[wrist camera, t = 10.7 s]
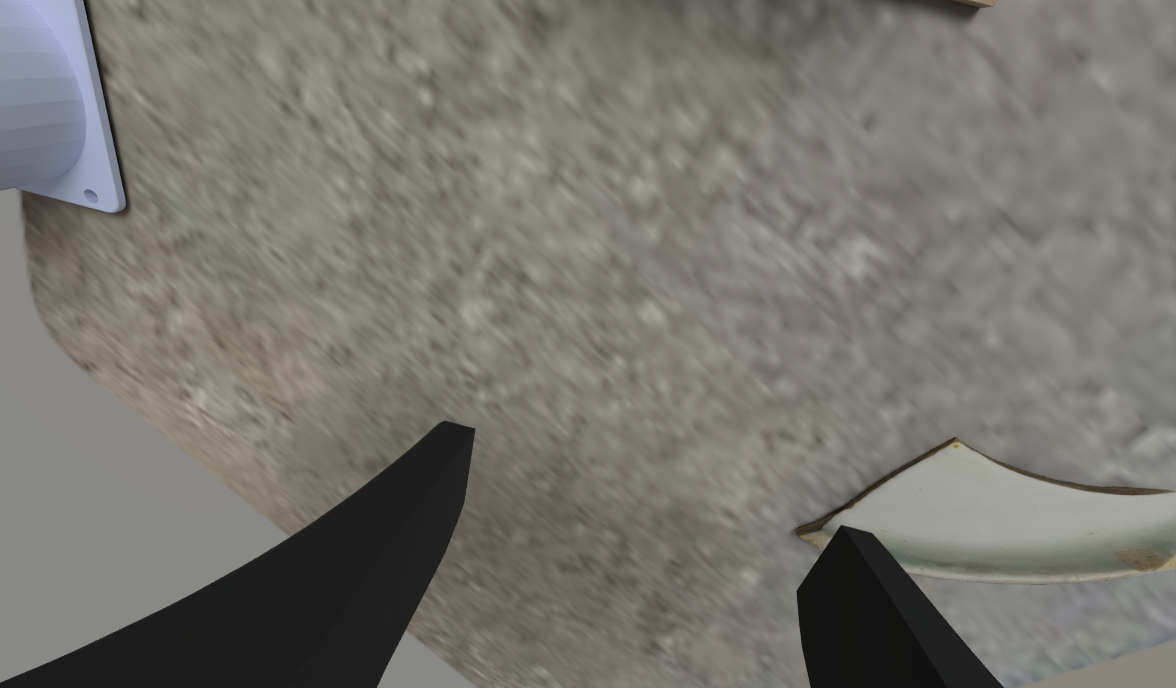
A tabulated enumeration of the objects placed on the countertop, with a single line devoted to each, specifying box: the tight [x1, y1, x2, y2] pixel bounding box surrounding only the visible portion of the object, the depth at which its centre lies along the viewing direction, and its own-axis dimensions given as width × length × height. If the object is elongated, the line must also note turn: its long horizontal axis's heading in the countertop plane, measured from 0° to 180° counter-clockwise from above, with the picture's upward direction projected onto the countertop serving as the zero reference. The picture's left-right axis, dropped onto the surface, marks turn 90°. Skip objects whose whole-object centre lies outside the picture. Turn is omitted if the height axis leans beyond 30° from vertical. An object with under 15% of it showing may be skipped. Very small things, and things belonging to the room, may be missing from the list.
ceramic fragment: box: [796, 437, 1176, 585], centre depth 20 cm, size 14×5×4 cm, turn 99°
